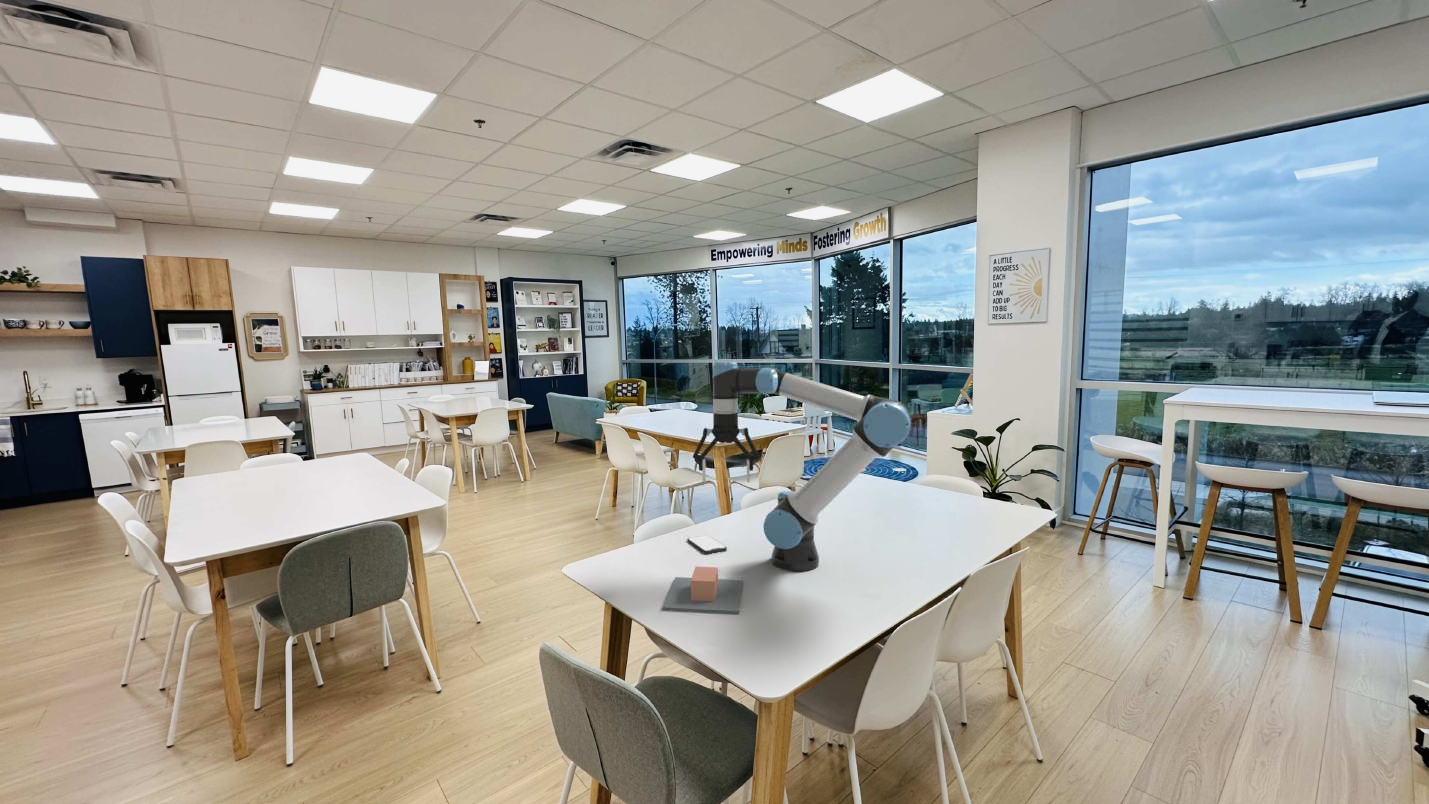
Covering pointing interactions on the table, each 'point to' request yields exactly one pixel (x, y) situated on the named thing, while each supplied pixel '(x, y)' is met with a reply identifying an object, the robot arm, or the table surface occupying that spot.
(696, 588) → the card box
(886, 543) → the table surface
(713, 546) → the smartphone
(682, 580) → the mat
